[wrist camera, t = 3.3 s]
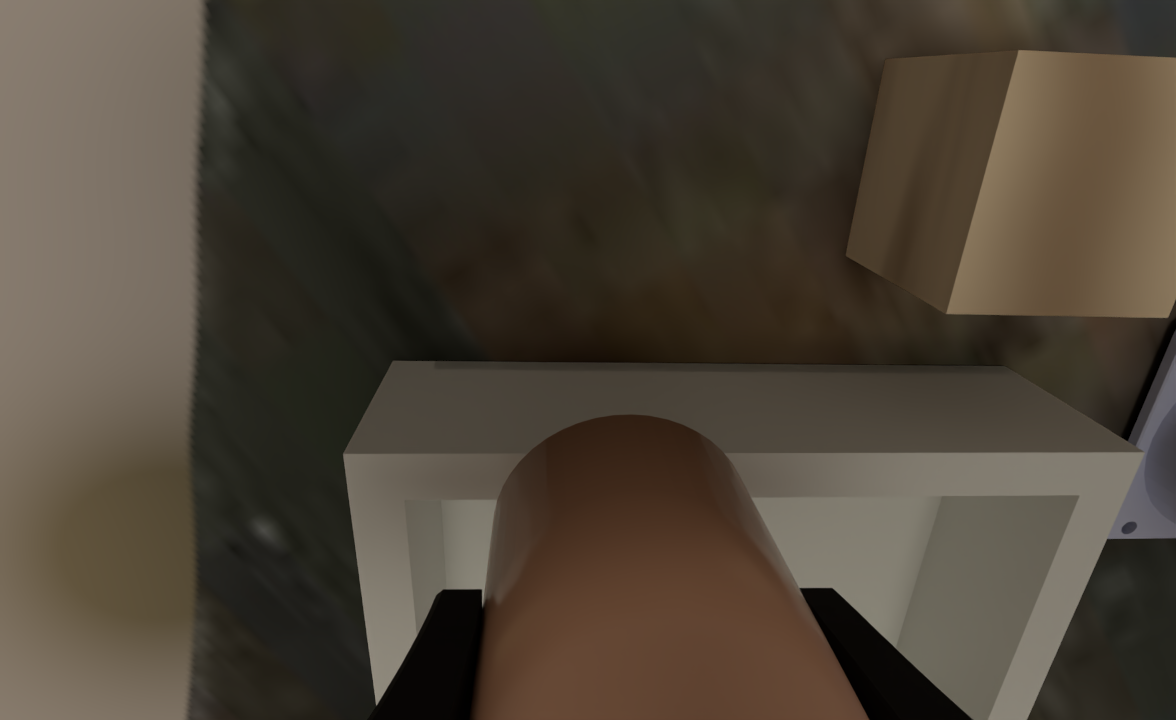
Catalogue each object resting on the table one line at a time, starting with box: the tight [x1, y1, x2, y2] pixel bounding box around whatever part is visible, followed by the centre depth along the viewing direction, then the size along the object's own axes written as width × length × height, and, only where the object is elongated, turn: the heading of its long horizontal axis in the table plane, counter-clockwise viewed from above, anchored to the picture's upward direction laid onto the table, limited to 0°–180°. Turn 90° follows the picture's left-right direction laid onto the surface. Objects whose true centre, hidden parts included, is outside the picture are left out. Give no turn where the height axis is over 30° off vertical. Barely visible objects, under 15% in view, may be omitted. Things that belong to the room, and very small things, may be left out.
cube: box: [846, 50, 1176, 318], centre depth 15 cm, size 5×5×5 cm
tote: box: [343, 361, 1145, 720], centre depth 20 cm, size 18×14×5 cm
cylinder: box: [469, 414, 869, 720], centre depth 9 cm, size 5×5×7 cm
